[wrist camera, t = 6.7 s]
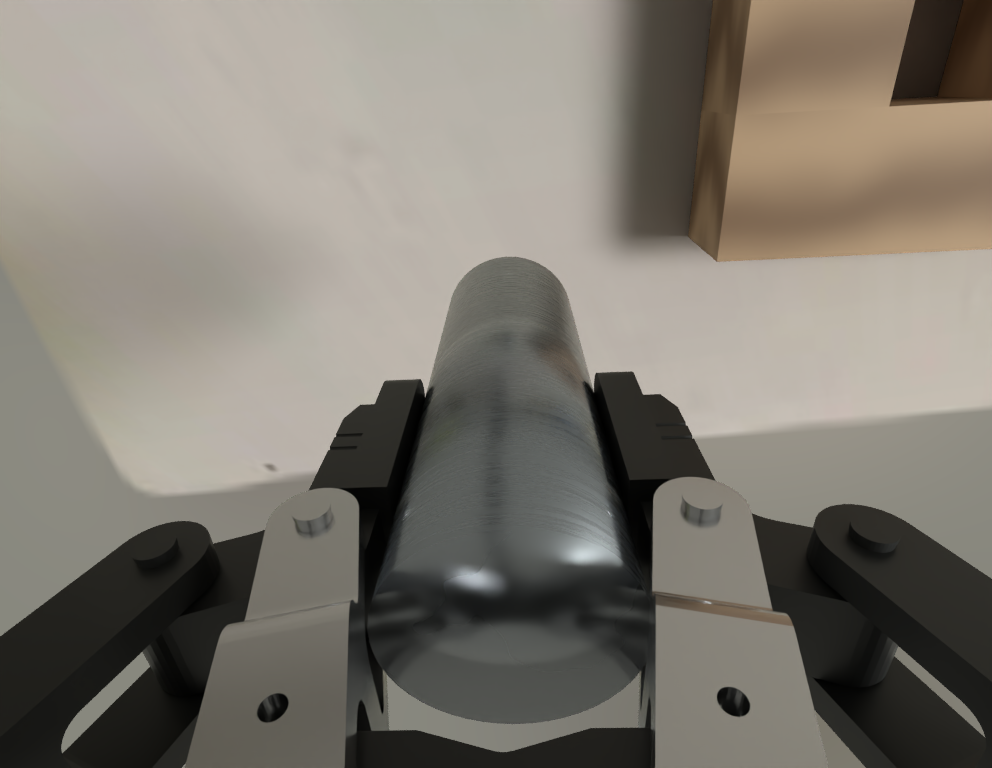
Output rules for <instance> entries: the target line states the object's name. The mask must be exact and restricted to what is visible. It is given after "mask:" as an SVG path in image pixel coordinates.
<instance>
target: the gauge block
mask: <svg viewBox="0 0 992 768" xmlns="http://www.w3.org/2000/svg"><path fill="white" fill-rule="evenodd" d="M914 3H915V0H713V4H712V13H711V23H710V32H709V42H708V51H707V61H706V70H705V80H704V89H703V99H702V109H701V118H700V128H699V137H698V147H697V156H696V166H695V175H694V185H693V195H692V204H691V214H690V223H689V233H688V237H689V238H690V239H691V240H692V241H694V242H695V243H696V244H697V245H698V246H699V247H701V248H702V249H703V250H704V251H705V252H706V253H708V254H709V255H710V256H711V257H712V258H713V259H714V260H716V261H717V262H720V261H742V260H763V259H785V258H806V257H827V256H849V255H870V254H892V253H913V252H935V251H956V250H977V249H992V0H964V2H963V5H962V9H961V12H960V16H959V20H958V23H957V27H956V30H955V34H954V38H953V41H952V45H951V48H950V52H949V56H948V59H947V63H946V66H945V70H944V74H943V77H942V81H941V84H940V88H939V92H938V95H937V97H920V98H902V99H891V97H892V93H893V89H894V85H895V81H896V77H897V73H898V69H899V65H900V60H901V56H902V52H903V48H904V44H905V40H906V36H907V32H908V28H909V24H910V20H911V15H912V11H913V7H914Z"/></svg>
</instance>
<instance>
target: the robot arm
mask: <svg viewBox="0 0 992 768" xmlns="http://www.w3.org/2000/svg"><path fill="white" fill-rule="evenodd" d="M594 395H595V399H596V402H597V406H598V410H599V413H600V417H601V421H602V425H603V428H604V432H605V436H606V439H607V443H608V447H609V450H610V454H611V458H612V461H613V465H614V469H615V473H616V476H617V480H618V484H619V487H620V491H621V495H622V498H623V502H624V506H625V510H626V513H627V517H628V521H629V524H630V528H631V532H632V535H633V539H634V543H635V546H636V550H637V554H638V557H639V561H640V565H641V569H642V572H643V576H644V580H645V583H646V587H647V591H648V594H649V598H650V603H649V637H648V652H647V661H646V663H645V665H644V666H643V668H642V669H641V671H640V673H639V676H640V677H639V708H638V709H639V710H638V728H590V729H587V730H583V731H580V732H577V733H573V734H570V735H566V736H563V737H559V738H556V739H553V740H549V741H546V742H542V743H539V744H536V745H532V746H529V747H525V748H521V749H518V750H515V751H510V752H495V751H491V750H487V749H484V748H480V747H476V746H473V745H469V744H465V743H462V742H458V741H454V740H451V739H447V738H443V737H440V736H436V735H432V734H428V733H425V732H421V731H417V730H407V731H406V730H404V731H403V730H402V731H401V730H400V731H389V717H388V693H387V692H388V691H387V674H386V673H385V671H384V670H383V669H382V667H381V666H380V665H379V663H378V661H377V659H376V657H375V655H374V654H373V651H372V648H371V645H370V642H369V636H368V629H367V627H368V614H369V610H370V606H371V602H372V599H373V595H374V591H375V587H376V583H377V580H378V576H379V572H380V568H381V564H382V561H383V557H384V553H385V549H386V545H387V542H388V538H389V534H390V530H391V526H392V523H393V519H394V515H395V511H396V507H397V504H398V500H399V496H400V492H401V488H402V485H403V481H404V477H405V473H406V469H407V466H408V462H409V458H410V454H411V450H412V447H413V443H414V439H415V435H416V431H417V428H418V424H419V420H420V416H421V412H422V409H423V405H424V401H425V393H424V387H423V383H422V381H421V379H416V380H390V381H385V382H384V383H383V386H382V388H381V391H380V393H379V396H378V398H377V400H376V403H375V404H371V405H360V406H358V407H357V408H356V409H355V410H353V411H352V412H351V413H350V414H349V415H347V416H346V417H345V418H344V419H343V421H342V423H341V425H340V427H339V429H338V431H337V433H336V437H335V438H334V440H333V442H332V444H331V446H330V450H328V452H327V454H326V456H325V458H324V460H323V462H322V464H321V466H320V468H319V470H318V472H317V474H316V477H315V479H314V481H313V483H312V485H311V487H310V489H309V491H306V492H303V493H300V494H297V495H295V496H293V497H291V498H289V499H288V500H286V501H285V502H283V503H282V504H281V505H279V506H278V507H277V508H276V509H275V510H274V511H273V513H272V514H271V515H270V517H269V519H268V521H267V524H266V528H265V530H263V531H260V532H258V533H254V534H250V535H247V536H242V537H238V538H234V539H231V540H226V541H223V542H218V543H214V544H213V542H212V540H211V537H210V534H209V532H208V530H207V529H206V528H205V527H204V526H202V525H201V524H198V523H195V522H189V521H178V522H171V523H166V524H162V525H159V526H156V527H153V528H150V529H148V530H146V531H144V532H141V533H140V534H138V535H136V536H134V537H133V538H131V539H129V540H128V541H127V542H125V543H124V544H122V545H121V546H120V547H118V548H117V549H116V550H114V551H113V552H112V553H110V554H109V555H108V556H107V557H106V558H104V559H103V560H101V561H100V562H99V563H97V564H96V565H95V566H93V567H92V568H91V569H89V570H88V571H87V572H85V573H84V574H83V575H81V576H80V577H79V578H77V579H76V580H75V581H73V582H72V583H71V584H69V585H68V586H67V587H65V588H64V589H63V590H61V591H60V592H59V593H57V594H56V595H55V596H53V597H52V598H51V599H49V600H48V601H47V602H46V603H44V604H43V605H42V606H40V607H39V608H38V609H36V610H35V611H34V612H32V613H31V614H30V615H28V616H27V617H26V618H24V619H23V620H22V621H21V622H19V623H18V624H16V625H15V626H14V627H12V628H11V629H10V630H8V631H7V632H6V633H4V634H3V635H2V636H0V768H182V767H183V765H184V764H185V763H186V765H185V768H828V764H827V760H826V755H825V751H824V747H823V743H822V739H821V735H820V731H819V727H818V723H817V718H816V715H815V710H816V712H817V713H818V714H819V715H820V716H821V718H822V719H823V720H824V721H825V722H826V723H827V724H828V725H829V727H831V728H832V730H833V731H834V732H835V733H836V734H837V736H838V737H839V738H840V739H841V740H842V741H843V742H844V743H845V745H846V746H847V747H848V748H849V749H850V750H851V751H852V752H853V754H854V755H855V756H856V757H857V758H858V759H859V760H860V761H861V763H862V764H863V765H864V766H865V767H866V768H992V579H991V578H990V577H988V576H987V575H985V574H984V573H982V572H981V571H979V570H978V569H976V568H975V567H973V566H972V565H970V564H969V563H967V562H966V561H964V560H963V559H961V558H960V557H958V556H957V555H955V554H954V553H952V552H951V551H949V550H948V549H946V548H945V547H943V546H942V545H940V544H939V543H937V542H936V541H934V540H933V539H931V538H930V537H928V536H927V535H925V534H924V533H922V532H921V531H919V530H918V529H916V528H915V527H913V526H912V525H910V524H909V523H907V522H906V521H904V520H902V519H900V518H898V517H896V516H894V515H892V514H890V513H887V512H885V511H882V510H879V509H875V508H872V507H867V506H862V505H854V504H842V505H835V506H831V507H828V508H826V509H824V510H822V511H821V512H820V513H819V514H818V515H817V517H816V519H815V523H814V526H813V528H811V527H806V526H801V525H796V524H790V523H785V522H780V521H775V520H771V519H766V518H763V517H760V516H757V515H755V514H752V512H751V509H750V506H749V504H748V503H747V501H746V500H745V499H744V498H743V497H742V496H741V495H740V494H739V493H738V492H737V491H735V490H734V489H732V488H730V487H729V486H727V485H725V484H723V483H720V482H717V481H715V479H714V477H713V475H712V473H711V471H710V469H709V467H708V465H707V463H706V462H705V459H704V457H703V456H702V454H701V452H700V450H699V448H698V446H697V444H696V442H695V440H694V439H692V434H691V432H690V430H689V428H688V426H686V424H685V421H684V419H683V417H682V415H681V413H680V411H679V409H678V407H677V406H675V405H674V404H673V403H671V402H670V401H669V400H667V399H666V398H665V397H663V396H662V395H661V394H654V395H643V394H642V391H641V389H640V387H639V384H638V382H637V380H636V377H635V375H634V373H633V372H607V373H596V375H595V381H594ZM898 646H899V647H901V649H903V650H904V651H905V652H906V653H907V654H908V655H910V656H911V657H912V658H913V659H914V660H915V661H916V662H917V663H919V664H920V665H921V666H922V667H923V668H924V669H925V670H927V671H928V672H929V673H930V674H931V675H932V676H933V677H935V678H936V679H937V680H938V681H939V682H940V683H942V684H943V685H944V686H945V687H946V688H947V689H948V690H949V691H951V692H952V693H953V694H954V695H955V696H956V697H958V698H959V699H960V700H961V701H962V702H963V703H964V704H965V705H966V706H967V707H968V708H969V709H970V710H971V712H972V713H973V714H974V716H975V717H976V718H977V720H978V722H979V723H980V725H981V727H982V729H983V731H984V734H985V737H984V736H983V735H981V734H980V733H979V732H978V731H977V730H976V729H975V728H973V726H971V725H970V724H969V723H968V722H967V721H966V720H965V719H964V718H962V717H961V716H960V715H959V714H958V713H957V712H956V711H955V710H954V709H952V708H951V707H950V706H949V705H948V704H947V703H946V702H945V701H943V700H942V699H941V698H940V697H939V696H938V695H937V694H936V693H935V692H933V691H932V690H931V689H930V688H929V687H928V686H927V685H926V684H925V683H923V682H922V681H921V680H920V679H919V678H918V677H917V676H916V675H914V674H913V673H912V672H911V671H910V670H909V669H908V668H907V667H905V665H903V664H902V663H901V662H900V661H899V660H898V659H897V658H895V657H894V655H895V653H896V650H897V648H898ZM141 652H143V654H144V655H145V657H146V659H147V661H148V663H149V665H150V668H148V669H147V670H146V671H145V672H144V673H143V674H142V675H141V677H139V678H138V680H136V681H135V682H134V683H133V684H132V685H131V686H130V687H129V688H128V689H127V690H126V691H125V692H124V693H123V694H122V695H121V696H120V697H119V698H118V699H117V700H116V701H115V702H114V703H113V704H112V705H111V706H110V707H109V708H108V709H107V710H106V711H105V712H104V713H103V714H102V715H101V716H100V717H99V718H98V719H97V720H96V721H95V722H94V723H93V724H92V725H91V726H90V727H89V728H88V729H87V730H86V731H85V732H84V733H83V734H82V735H81V736H80V737H79V738H78V739H77V740H76V741H75V742H74V743H73V744H72V745H71V746H70V747H69V748H68V749H67V750H66V751H64V752H63V753H62V752H61V744H62V739H63V736H64V733H65V731H66V729H67V727H68V725H69V724H70V722H71V721H72V720H73V718H74V717H75V716H76V715H77V713H78V712H79V711H80V710H81V709H82V708H83V707H84V706H85V705H86V704H88V703H89V702H90V701H91V700H92V699H93V698H94V697H95V696H96V695H97V694H98V693H99V692H100V691H101V690H102V689H103V688H104V687H105V686H106V685H108V683H110V681H112V680H113V679H114V678H115V677H116V676H117V675H118V674H119V673H120V672H121V671H122V670H123V669H124V668H125V667H126V666H127V665H128V664H130V662H132V661H133V660H134V659H135V658H136V657H137V656H138V655H139V654H140V653H141Z"/></svg>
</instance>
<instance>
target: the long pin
mask: <svg viewBox="0 0 992 768" xmlns="http://www.w3.org/2000/svg"><path fill="white" fill-rule="evenodd" d="M649 603H650V598H649V594H648V591H647V587H646V583H645V580H644V576H643V572H642V569H641V565H640V561H639V557H638V554H637V550H636V546H635V543H634V539H633V535H632V532H631V528H630V524H629V521H628V517H627V513H626V510H625V506H624V502H623V498H622V495H621V491H620V487H619V484H618V480H617V476H616V473H615V469H614V465H613V461H612V458H611V454H610V450H609V447H608V443H607V439H606V436H605V432H604V428H603V425H602V421H601V417H600V413H599V410H598V406H597V402H596V399H595V395H594V391H593V388H592V384H591V380H590V377H589V373H588V369H587V365H586V362H585V358H584V354H583V351H582V347H581V343H580V340H579V336H578V332H577V328H576V325H575V321H574V317H573V314H572V310H571V306H570V303H569V299H568V296H567V293H566V291H565V289H564V287H563V285H562V284H561V282H560V281H559V280H558V278H557V277H556V276H555V275H554V274H553V273H552V272H551V271H549V270H548V269H547V268H545V267H544V266H542V265H540V264H538V263H536V262H534V261H532V260H528V259H524V258H519V257H501V258H496V259H492V260H489V261H486V262H484V263H482V264H480V265H478V266H476V267H475V268H473V269H472V270H471V271H469V272H468V273H467V274H466V275H465V276H464V277H463V278H462V280H461V281H460V282H459V284H458V285H457V287H456V289H455V291H454V293H453V295H452V298H451V302H450V306H449V310H448V314H447V317H446V321H445V325H444V329H443V333H442V336H441V340H440V344H439V348H438V352H437V355H436V359H435V363H434V367H433V371H432V374H431V378H430V382H429V386H428V390H427V393H426V397H425V401H424V405H423V409H422V412H421V416H420V420H419V424H418V428H417V431H416V435H415V439H414V443H413V447H412V450H411V454H410V458H409V462H408V466H407V469H406V473H405V477H404V481H403V485H402V488H401V492H400V496H399V500H398V504H397V507H396V511H395V515H394V519H393V523H392V526H391V530H390V534H389V538H388V542H387V545H386V549H385V553H384V557H383V561H382V564H381V568H380V572H379V576H378V580H377V583H376V587H375V591H374V595H373V599H372V602H371V606H370V610H369V614H368V627H367V629H368V636H369V642H370V645H371V648H372V651H373V654H374V655H375V657H376V659H377V661H378V663H379V665H380V666H381V667H382V669H383V670H384V671H385V673H386V674H387V675H388V676H389V677H390V678H391V679H392V680H393V681H394V682H395V683H396V684H397V685H398V686H399V687H400V688H402V689H403V690H404V691H406V692H407V693H408V694H410V695H411V696H413V697H415V698H416V699H418V700H419V701H421V702H423V703H425V704H427V705H429V706H431V707H433V708H435V709H438V710H440V711H443V712H446V713H449V714H452V715H455V716H459V717H463V718H466V719H471V720H476V721H482V722H491V723H505V724H521V723H522V724H523V723H536V722H544V721H550V720H555V719H560V718H564V717H568V716H571V715H574V714H578V713H581V712H583V711H586V710H588V709H590V708H593V707H595V706H597V705H599V704H601V703H602V702H605V701H606V700H608V699H610V698H611V697H613V696H614V695H615V694H617V693H618V692H620V691H621V690H622V689H624V687H626V686H627V685H628V684H629V683H630V682H631V681H632V680H633V679H634V678H635V677H636V676H637V674H638V673H639V672H640V671H641V669H642V668H643V666H644V665H645V663H646V661H647V652H648V637H649Z"/></svg>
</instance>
